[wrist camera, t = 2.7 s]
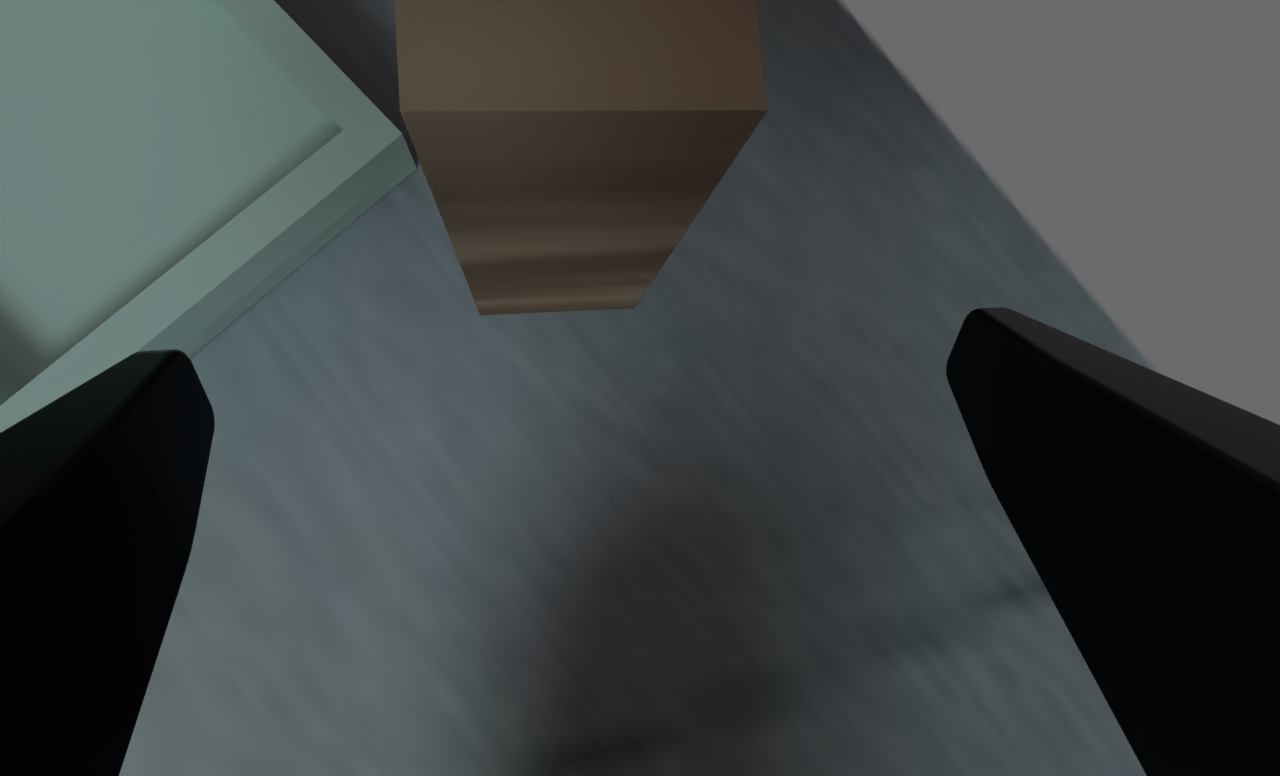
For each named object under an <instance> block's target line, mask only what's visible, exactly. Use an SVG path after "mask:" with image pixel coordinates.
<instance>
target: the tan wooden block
mask: <svg viewBox="0 0 1280 776" xmlns="http://www.w3.org/2000/svg"><path fill="white" fill-rule="evenodd" d="M394 5H395V25H396V44H397V64H398V83H399V103H400V113H401V115H402V118H403V121H404V123H405V126H406V128H407V131H408V133H409V136H410V138H411V141H412V143H413V146H414V148H415V151H416V153H417V156H418V159H419V161H420V164H421V166H422V169H423V171H424V174H425V176H426V179H427V181H428V184H429V186H430V189H431V191H432V194H433V196H434V199H435V202H436V204H437V207H438V209H439V212H440V214H441V217H442V219H443V222H444V224H445V227H446V229H447V232H448V234H449V237H450V240H451V242H452V245H453V247H454V250H455V252H456V255H457V257H458V260H459V262H460V265H461V267H462V270H463V272H464V275H465V278H466V280H467V283H468V285H469V288H470V290H471V293H472V295H473V298H474V300H475V303H476V305H477V308H478V310H479V313H480V315H492V314H514V313H535V312H556V311H577V310H599V309H620V308H634V307H635V305H636V304H637V302H638V301H639V299H640V298H641V296H642V295H643V294H644V292H645V291H646V289H647V288H648V286H649V285H650V283H651V282H652V280H653V279H654V277H655V276H656V274H657V273H658V271H659V270H660V268H661V267H662V265H663V264H664V262H665V261H666V259H667V258H668V257H669V255H670V254H671V252H672V251H673V249H674V248H675V246H676V245H677V243H678V242H679V240H680V239H681V237H682V236H683V234H684V233H685V231H686V230H687V228H688V227H689V225H690V224H691V222H692V221H693V219H694V218H695V217H696V215H697V214H698V212H699V211H700V209H701V208H702V206H703V205H704V203H705V202H706V200H707V199H708V197H709V196H710V194H711V193H712V191H713V190H714V188H715V187H716V185H717V184H718V182H719V181H720V180H721V178H722V177H723V175H724V174H725V172H726V171H727V169H728V168H729V166H730V165H731V163H732V162H733V160H734V159H735V157H736V156H737V154H738V153H739V151H740V150H741V148H742V147H743V145H744V144H745V142H746V141H747V140H748V138H749V137H750V135H751V134H752V132H753V131H754V129H755V128H756V126H757V125H758V123H759V122H760V120H761V119H762V117H763V116H764V114H765V113H766V111H767V102H766V92H765V81H764V71H763V60H762V50H761V39H760V29H759V18H758V8H757V0H394Z"/></svg>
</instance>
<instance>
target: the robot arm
mask: <svg viewBox="0 0 1280 776" xmlns="http://www.w3.org/2000/svg"><path fill="white" fill-rule="evenodd" d="M946 374H947V379H948V383H949V385H950V388H951V390H952V392H953V395H954V397H955V400H956V402H957V405H958V407H959V410H960V412H961V415H962V417H963V420H964V422H965V425H966V427H967V430H968V432H969V435H970V437H971V439H972V442H973V444H974V447H975V449H976V452H977V454H978V457H979V459H980V462H981V464H982V466H983V469H984V471H985V473H986V476H987V478H988V480H989V482H990V484H991V486H992V488H993V490H994V492H995V494H996V496H997V498H998V500H999V501H1000V503H1001V505H1002V507H1003V509H1004V511H1005V513H1006V515H1007V516H1008V518H1009V520H1010V522H1011V524H1012V526H1013V528H1014V529H1015V531H1016V533H1017V535H1018V537H1019V539H1020V541H1021V542H1022V544H1023V546H1024V548H1025V550H1026V552H1027V554H1028V555H1029V557H1030V559H1031V561H1032V563H1033V565H1034V567H1035V569H1036V570H1037V572H1038V574H1039V576H1040V578H1041V580H1042V582H1043V583H1044V585H1045V587H1046V589H1047V591H1048V593H1049V595H1050V596H1051V598H1052V600H1053V602H1054V604H1055V606H1056V608H1057V610H1058V611H1059V613H1060V615H1061V617H1062V619H1063V621H1064V623H1065V624H1066V626H1067V628H1068V630H1069V632H1070V634H1071V636H1072V637H1073V639H1074V641H1075V643H1076V645H1077V647H1078V649H1079V651H1080V652H1081V654H1082V656H1083V658H1084V660H1085V662H1086V664H1087V665H1088V667H1089V669H1090V671H1091V673H1092V675H1093V677H1094V678H1095V680H1096V682H1097V684H1098V686H1099V688H1100V690H1101V691H1102V693H1103V695H1104V697H1105V699H1106V701H1107V703H1108V705H1109V706H1110V708H1111V710H1112V712H1113V714H1114V716H1115V718H1116V719H1117V721H1118V723H1119V725H1120V727H1121V729H1122V731H1123V732H1124V734H1125V736H1126V738H1127V740H1128V742H1129V744H1130V746H1131V747H1132V749H1133V751H1134V753H1135V755H1136V757H1137V759H1138V760H1139V762H1140V764H1141V766H1142V768H1143V770H1144V772H1145V773H1146V775H1147V776H1280V425H1278V424H1276V423H1274V422H1271V421H1269V420H1267V419H1264V418H1262V417H1259V416H1257V415H1255V414H1253V413H1250V412H1248V411H1246V410H1243V409H1241V408H1239V407H1236V406H1234V405H1232V404H1229V403H1227V402H1225V401H1223V400H1220V399H1218V398H1216V397H1213V396H1211V395H1209V394H1206V393H1204V392H1202V391H1199V390H1197V389H1195V388H1192V387H1190V386H1187V385H1185V384H1183V383H1181V382H1178V381H1176V380H1174V379H1171V378H1169V377H1167V376H1164V375H1162V374H1160V373H1157V372H1155V371H1153V370H1150V369H1148V368H1146V367H1143V366H1141V365H1139V364H1136V363H1134V362H1132V361H1129V360H1127V359H1125V358H1123V357H1120V356H1118V355H1116V354H1113V353H1111V352H1109V351H1106V350H1104V349H1102V348H1099V347H1097V346H1095V345H1092V344H1090V343H1088V342H1085V341H1083V340H1081V339H1078V338H1076V337H1074V336H1071V335H1069V334H1067V333H1064V332H1062V331H1060V330H1057V329H1055V328H1053V327H1050V326H1048V325H1046V324H1043V323H1041V322H1039V321H1036V320H1034V319H1032V318H1029V317H1027V316H1025V315H1023V314H1020V313H1018V312H1016V311H1013V310H1011V309H1008V308H1002V307H999V308H981V309H975V310H973V311H971V312H970V313H969V314H968V315H967V316H966V318H965V320H964V322H963V325H962V327H961V329H960V332H959V334H958V337H957V339H956V341H955V344H954V346H953V349H952V351H951V353H950V356H949V358H948V361H947V367H946ZM214 424H215V421H214V413H213V409H212V406H211V404H210V402H209V399H208V397H207V395H206V393H205V391H204V388H203V386H202V384H201V382H200V380H199V377H198V375H197V373H196V371H195V369H194V366H193V364H192V362H191V360H190V359H189V357H188V356H187V355H186V354H185V353H184V352H182V351H180V350H178V349H167V350H147V351H139V352H135V353H133V354H131V355H130V356H128V357H126V358H125V359H123V360H121V361H120V362H118V363H116V364H115V365H113V366H111V367H110V368H108V369H106V370H105V371H103V372H101V373H100V374H98V375H96V376H95V377H93V378H91V379H89V380H88V381H86V382H84V383H83V384H81V385H79V386H78V387H76V388H74V389H73V390H71V391H69V392H68V393H66V394H64V395H63V396H61V397H59V398H58V399H56V400H54V401H53V402H51V403H49V404H48V405H46V406H44V407H43V408H41V409H39V410H38V411H36V412H34V413H33V414H31V415H29V416H28V417H26V418H24V419H22V420H21V421H19V422H17V423H16V424H14V425H12V426H11V427H9V428H7V429H6V430H4V431H2V432H1V433H0V776H119V773H120V770H121V767H122V764H123V761H124V758H125V755H126V752H127V749H128V746H129V743H130V739H131V736H132V733H133V730H134V727H135V724H136V721H137V718H138V715H139V712H140V709H141V706H142V702H143V699H144V696H145V693H146V690H147V687H148V684H149V681H150V678H151V675H152V672H153V669H154V665H155V662H156V659H157V656H158V653H159V650H160V647H161V644H162V641H163V638H164V635H165V632H166V628H167V625H168V622H169V619H170V616H171V613H172V610H173V607H174V604H175V601H176V598H177V595H178V592H179V588H180V585H181V582H182V579H183V576H184V573H185V570H186V566H187V563H188V559H189V556H190V553H191V548H192V544H193V539H194V535H195V530H196V525H197V519H198V514H199V509H200V503H201V498H202V493H203V487H204V482H205V476H206V471H207V466H208V460H209V455H210V450H211V444H212V439H213V433H214Z"/></svg>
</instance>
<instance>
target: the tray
mask: <svg viewBox="0 0 1280 776" xmlns="http://www.w3.org/2000/svg"><path fill="white" fill-rule="evenodd" d="M415 169H417V168H416V165H415V163H414V161H413V158H412V156H411V153H410V151H409V148H408V146H407V144H406V141H405V139H404V136H403V134H402V133H401V132H400V131H399V130H398V129H397V128H396V127H395V126H394V124H393V123H392V122H391V121H390V120H389V119H388V118H387V117H386V116H385V115H384V114H383V113H382V112H381V111H380V110H379V109H378V108H377V107H376V106H375V105H374V104H373V103H372V102H371V101H370V100H369V98H368V97H367V96H366V95H365V94H364V93H363V92H362V91H361V90H360V89H359V88H358V87H357V86H356V85H355V84H354V83H353V82H352V81H351V80H350V79H349V78H348V77H347V76H346V75H345V74H344V72H343V71H342V70H341V69H340V68H339V67H338V66H337V65H336V64H335V63H334V62H333V61H332V60H331V59H330V58H329V57H328V56H327V55H326V54H325V53H324V52H323V51H322V50H321V49H320V48H319V46H318V45H317V44H316V43H315V42H314V41H313V40H312V39H311V38H310V37H309V36H308V35H307V34H306V33H305V32H304V31H303V30H302V29H301V28H300V27H299V26H298V25H297V24H296V23H295V22H294V21H293V19H292V18H291V17H290V16H289V15H288V14H287V13H286V12H285V11H284V10H283V9H282V8H281V7H280V6H279V5H278V4H277V3H276V2H275V1H274V0H0V433H1V432H2V431H4V430H6V429H7V428H9V427H11V426H12V425H14V424H16V423H17V422H19V421H21V420H22V419H24V418H26V417H28V416H29V415H31V414H33V413H34V412H36V411H38V410H39V409H41V408H43V407H44V406H46V405H48V404H49V403H51V402H53V401H54V400H56V399H58V398H59V397H61V396H63V395H64V394H66V393H68V392H69V391H71V390H73V389H74V388H76V387H78V386H79V385H81V384H83V383H84V382H86V381H88V380H89V379H91V378H93V377H95V376H96V375H98V374H100V373H101V372H103V371H105V370H106V369H108V368H110V367H111V366H113V365H115V364H116V363H118V362H120V361H121V360H123V359H125V358H126V357H128V356H130V355H131V354H133V353H135V352H139V351H147V350H167V349H178V350H180V351H182V352H184V353H185V354H186V355H187V356H188V357H189V358H190V357H192V356H193V355H194V354H195V353H196V352H198V351H199V350H200V349H201V348H202V347H204V346H205V345H206V344H207V343H208V342H210V341H211V340H212V339H213V338H214V337H216V336H217V335H218V334H219V333H220V332H222V331H223V330H224V329H225V328H226V327H228V326H229V325H230V324H231V323H232V322H234V321H235V320H236V319H237V318H238V317H240V316H241V315H242V314H243V313H244V312H246V311H247V310H248V309H249V308H250V307H251V306H253V305H254V304H255V303H256V302H257V301H259V300H260V299H261V298H262V297H263V296H265V295H266V294H267V293H268V292H269V291H271V290H272V289H273V288H274V287H275V286H277V285H278V284H279V283H280V282H281V281H283V280H284V279H285V278H286V277H287V276H289V275H290V274H291V273H292V272H293V271H295V270H296V269H297V268H298V267H299V266H301V265H302V264H303V263H304V262H305V261H307V260H308V259H309V258H310V257H311V256H313V255H314V254H315V253H316V252H317V251H319V250H320V249H321V248H322V247H323V246H325V245H326V244H327V243H328V242H329V241H330V240H332V239H333V238H334V237H335V236H336V235H338V234H339V233H340V232H341V231H342V230H344V229H345V228H346V227H347V226H348V225H350V224H351V223H352V222H353V221H354V220H356V219H357V218H358V217H359V216H360V215H362V214H363V213H364V212H365V211H366V210H368V209H369V208H370V207H371V206H372V205H374V204H375V203H376V202H377V201H378V200H380V199H381V198H382V197H383V196H384V195H386V194H387V193H388V192H389V191H390V190H392V189H393V188H394V187H395V186H396V185H398V184H399V183H400V182H401V181H402V180H404V179H405V178H406V177H407V176H408V175H409V174H411V173H412V172H413V171H414V170H415Z"/></svg>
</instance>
